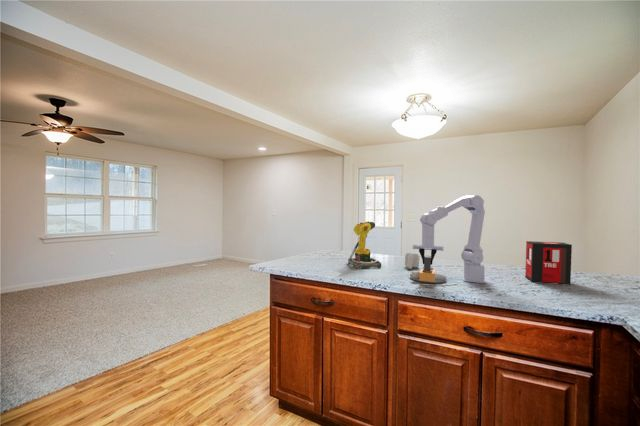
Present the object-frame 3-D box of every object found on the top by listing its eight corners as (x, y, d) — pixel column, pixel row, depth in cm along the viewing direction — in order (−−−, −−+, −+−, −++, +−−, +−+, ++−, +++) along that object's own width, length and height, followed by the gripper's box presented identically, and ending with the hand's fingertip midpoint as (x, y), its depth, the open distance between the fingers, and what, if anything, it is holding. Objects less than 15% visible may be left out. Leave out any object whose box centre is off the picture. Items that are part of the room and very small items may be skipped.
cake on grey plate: (446, 276, 164) (446, 265, 163) (446, 285, 147) (446, 272, 147) (411, 273, 171) (412, 263, 170) (408, 281, 154) (408, 269, 154)
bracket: (434, 277, 155) (435, 270, 155) (434, 282, 147) (434, 273, 147) (412, 275, 159) (412, 268, 159) (410, 279, 151) (411, 271, 151)
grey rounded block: (402, 268, 181) (403, 251, 183) (405, 269, 190) (406, 253, 192) (415, 270, 178) (416, 253, 179) (418, 270, 187) (419, 254, 188)
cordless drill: (384, 268, 185) (385, 223, 185) (354, 269, 182) (355, 223, 181) (373, 262, 204) (374, 221, 203) (346, 263, 200) (346, 221, 199)
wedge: (430, 269, 153) (431, 255, 153) (430, 271, 149) (430, 257, 148) (424, 268, 154) (424, 255, 154) (423, 271, 150) (424, 257, 150)
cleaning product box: (531, 282, 154) (532, 243, 153) (525, 278, 162) (526, 241, 162) (570, 285, 149) (571, 244, 148) (561, 280, 157) (563, 242, 157)
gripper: (412, 237, 151) (411, 264, 151) (443, 238, 145) (443, 266, 146) (413, 235, 157) (413, 261, 158) (443, 237, 152) (443, 264, 152)
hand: (427, 264), depth 152 cm, fingers closed on wedge, 3 cm apart
